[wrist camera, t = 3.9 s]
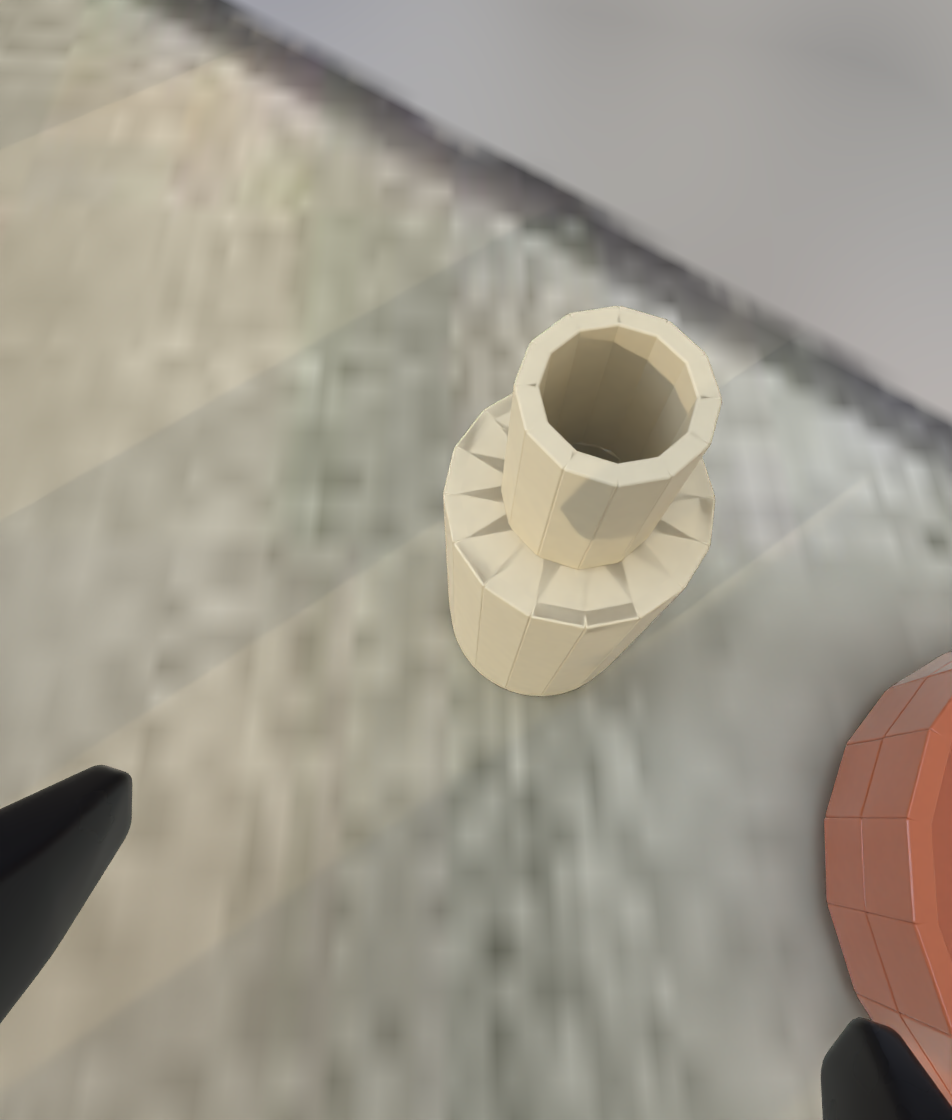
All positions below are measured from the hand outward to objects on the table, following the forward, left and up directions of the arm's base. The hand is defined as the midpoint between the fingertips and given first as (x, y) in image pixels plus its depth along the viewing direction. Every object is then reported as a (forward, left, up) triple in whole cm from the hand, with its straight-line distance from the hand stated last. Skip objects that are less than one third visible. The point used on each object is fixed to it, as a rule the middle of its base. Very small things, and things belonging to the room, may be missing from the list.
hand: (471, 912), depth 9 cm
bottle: (+4, +7, -13) cm, 15 cm away
